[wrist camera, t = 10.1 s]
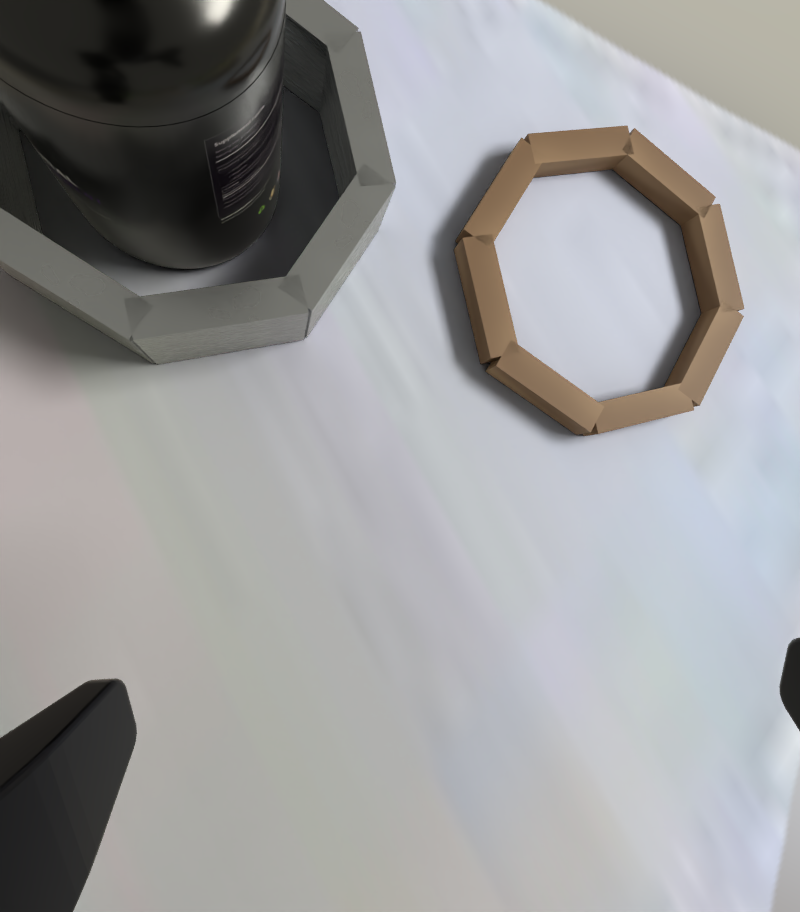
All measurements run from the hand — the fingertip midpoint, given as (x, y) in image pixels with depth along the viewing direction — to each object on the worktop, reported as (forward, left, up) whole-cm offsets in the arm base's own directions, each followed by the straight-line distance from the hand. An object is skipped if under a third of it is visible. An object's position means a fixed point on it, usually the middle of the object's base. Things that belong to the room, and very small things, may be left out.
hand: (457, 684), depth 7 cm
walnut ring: (+13, +8, -12) cm, 19 cm away
